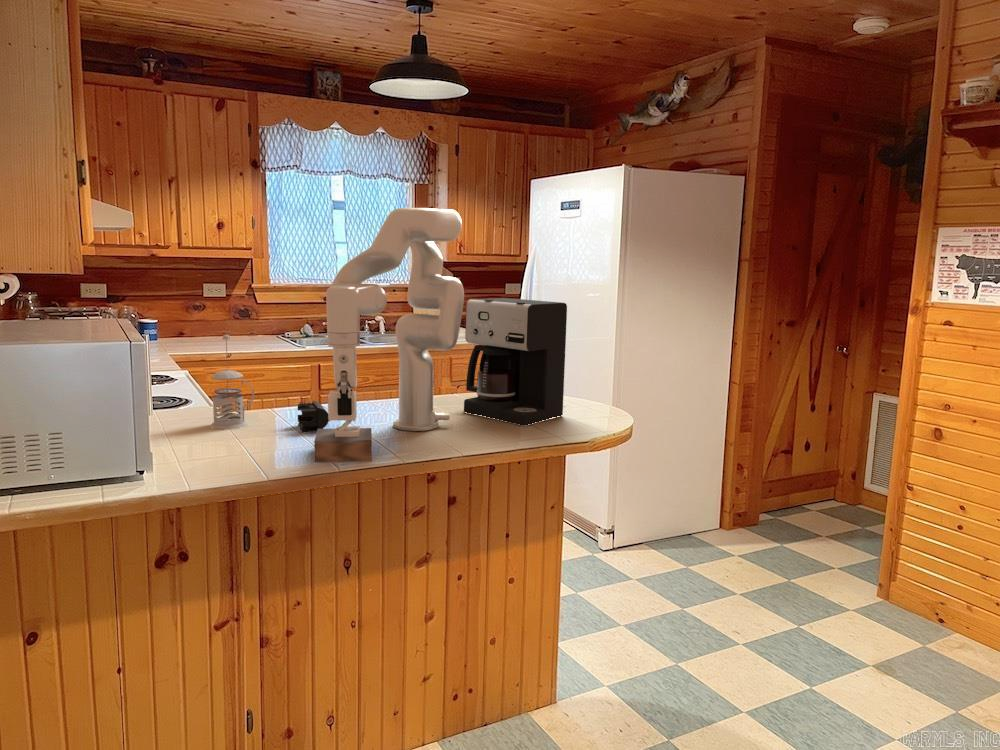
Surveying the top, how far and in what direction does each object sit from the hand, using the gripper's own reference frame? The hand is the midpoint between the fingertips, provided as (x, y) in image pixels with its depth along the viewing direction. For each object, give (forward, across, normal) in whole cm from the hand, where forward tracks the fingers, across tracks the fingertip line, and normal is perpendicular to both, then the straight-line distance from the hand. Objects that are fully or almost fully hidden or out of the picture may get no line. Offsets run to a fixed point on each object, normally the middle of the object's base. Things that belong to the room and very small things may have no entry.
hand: (345, 410), depth 179 cm
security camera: (+6, 0, 0) cm, 6 cm away
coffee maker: (+12, +42, -48) cm, 65 cm away
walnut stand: (+11, -1, 0) cm, 11 cm away
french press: (+11, +32, +32) cm, 46 cm away
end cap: (+12, +27, +10) cm, 31 cm away
